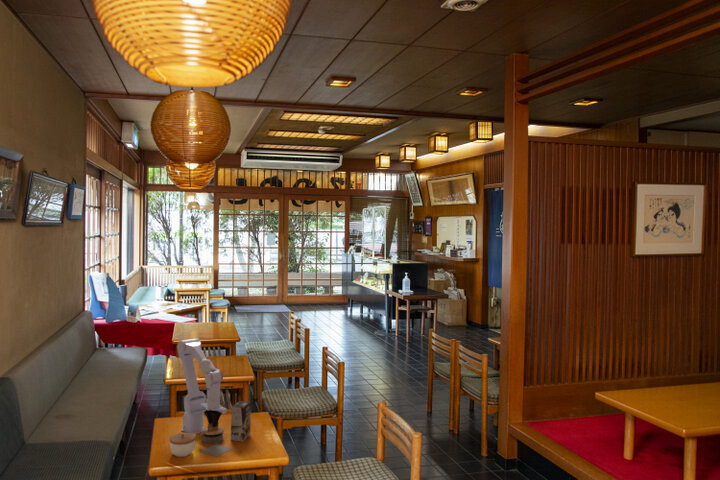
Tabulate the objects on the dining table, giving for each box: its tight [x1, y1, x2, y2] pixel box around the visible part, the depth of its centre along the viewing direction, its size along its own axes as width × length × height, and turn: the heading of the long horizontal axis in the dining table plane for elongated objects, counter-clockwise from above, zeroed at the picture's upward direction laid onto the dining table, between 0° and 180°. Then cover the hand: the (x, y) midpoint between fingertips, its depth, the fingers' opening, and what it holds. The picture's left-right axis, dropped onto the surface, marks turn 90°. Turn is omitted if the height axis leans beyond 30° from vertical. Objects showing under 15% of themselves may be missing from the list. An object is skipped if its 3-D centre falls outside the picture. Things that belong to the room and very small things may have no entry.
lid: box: [201, 423, 225, 435], centre depth 255 cm, size 10×10×4 cm
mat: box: [199, 443, 234, 458], centre depth 243 cm, size 10×10×1 cm
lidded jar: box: [169, 432, 197, 458], centre depth 238 cm, size 11×11×9 cm
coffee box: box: [230, 400, 252, 442], centre depth 258 cm, size 9×6×16 cm
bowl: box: [201, 432, 224, 444], centre depth 255 cm, size 9×10×3 cm
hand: (213, 426), depth 255 cm, fingers closed on lid, 2 cm apart
